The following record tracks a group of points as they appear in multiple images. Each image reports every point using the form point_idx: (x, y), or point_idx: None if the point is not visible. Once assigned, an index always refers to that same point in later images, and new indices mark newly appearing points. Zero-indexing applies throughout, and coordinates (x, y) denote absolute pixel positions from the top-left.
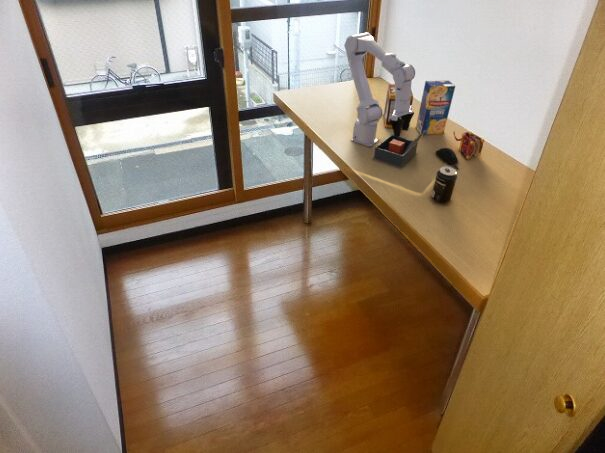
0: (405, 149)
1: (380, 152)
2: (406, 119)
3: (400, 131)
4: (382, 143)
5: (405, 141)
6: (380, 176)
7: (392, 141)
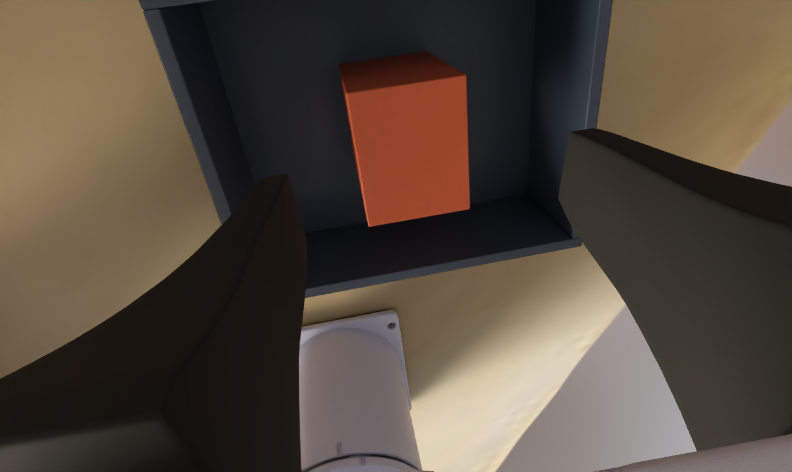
0: (228, 106)
1: None
2: (265, 341)
3: (645, 153)
4: (459, 255)
5: (216, 147)
6: (740, 4)
7: (426, 204)
